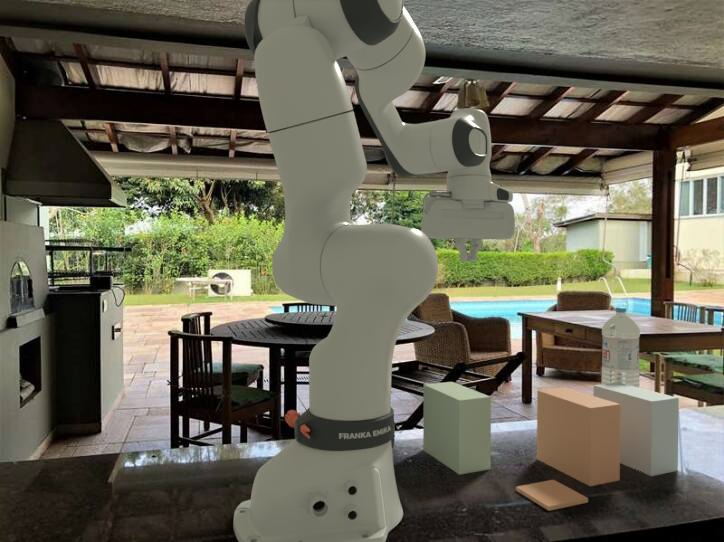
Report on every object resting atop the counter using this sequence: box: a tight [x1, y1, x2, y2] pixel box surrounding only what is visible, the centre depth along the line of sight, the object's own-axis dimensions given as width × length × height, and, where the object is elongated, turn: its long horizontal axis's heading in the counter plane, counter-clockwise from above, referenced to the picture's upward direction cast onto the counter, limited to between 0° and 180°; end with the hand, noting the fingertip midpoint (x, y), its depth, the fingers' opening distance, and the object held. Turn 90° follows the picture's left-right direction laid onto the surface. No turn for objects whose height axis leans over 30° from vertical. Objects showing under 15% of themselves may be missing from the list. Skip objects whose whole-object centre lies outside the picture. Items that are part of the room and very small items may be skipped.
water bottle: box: [600, 306, 641, 388], centre depth 107 cm, size 7×7×25 cm
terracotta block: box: [536, 387, 621, 487], centre depth 89 cm, size 6×12×12 cm, turn 22°
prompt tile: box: [515, 479, 589, 512], centre depth 78 cm, size 7×7×1 cm
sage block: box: [422, 381, 492, 475], centre depth 93 cm, size 6×12×12 cm, turn 22°
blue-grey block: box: [592, 382, 680, 477], centre depth 92 cm, size 6×12×12 cm, turn 22°
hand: (468, 261), depth 109 cm, fingers closed
